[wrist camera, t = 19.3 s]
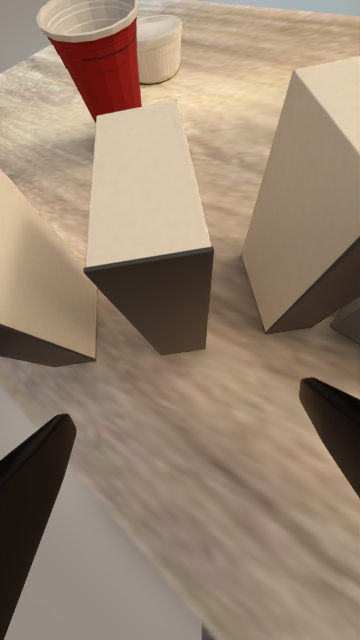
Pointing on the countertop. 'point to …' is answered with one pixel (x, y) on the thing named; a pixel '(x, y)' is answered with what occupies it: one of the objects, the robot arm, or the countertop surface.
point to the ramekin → (158, 47)
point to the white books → (260, 245)
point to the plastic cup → (97, 49)
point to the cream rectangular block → (150, 227)
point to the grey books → (349, 320)
